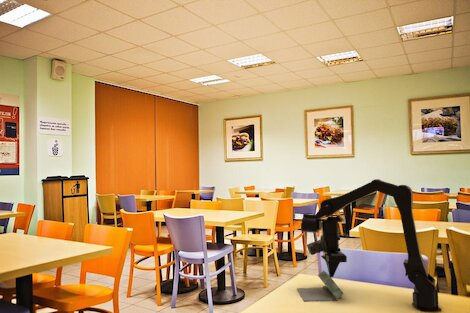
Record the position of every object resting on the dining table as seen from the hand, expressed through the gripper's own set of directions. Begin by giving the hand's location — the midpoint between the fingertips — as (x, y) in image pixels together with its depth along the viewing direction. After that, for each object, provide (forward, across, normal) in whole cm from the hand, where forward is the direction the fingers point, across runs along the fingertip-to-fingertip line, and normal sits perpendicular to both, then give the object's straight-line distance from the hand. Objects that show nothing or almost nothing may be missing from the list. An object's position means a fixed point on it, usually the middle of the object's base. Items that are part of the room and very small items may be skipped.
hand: (331, 276), depth 134 cm
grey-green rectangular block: (+5, 0, +2) cm, 6 cm away
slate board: (+6, 0, -7) cm, 9 cm away
